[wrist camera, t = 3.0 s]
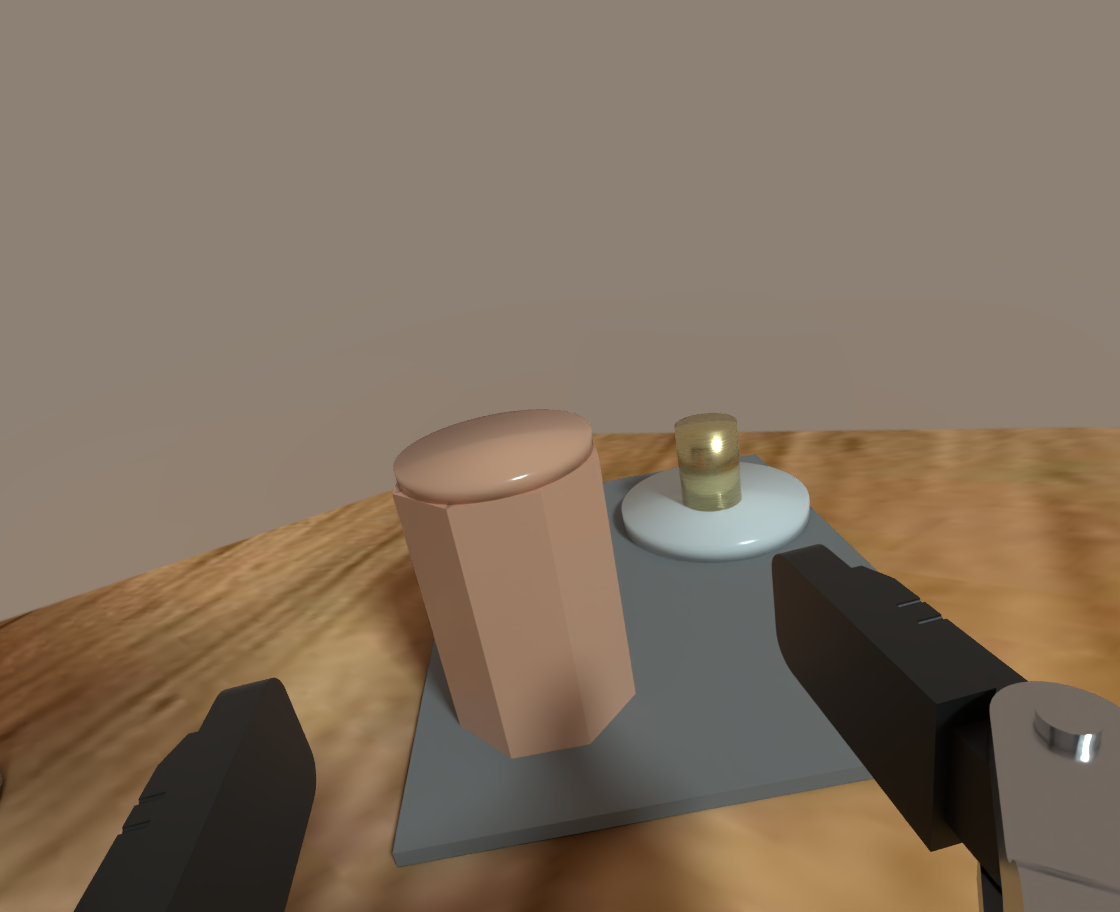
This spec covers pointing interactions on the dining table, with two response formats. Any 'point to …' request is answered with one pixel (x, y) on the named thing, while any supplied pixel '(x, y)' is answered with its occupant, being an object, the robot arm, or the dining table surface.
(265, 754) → the robot arm
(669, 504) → the saucer
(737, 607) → the rubber mat
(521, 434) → the domed octagonal post
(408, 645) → the dining table surface
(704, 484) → the brass weight
